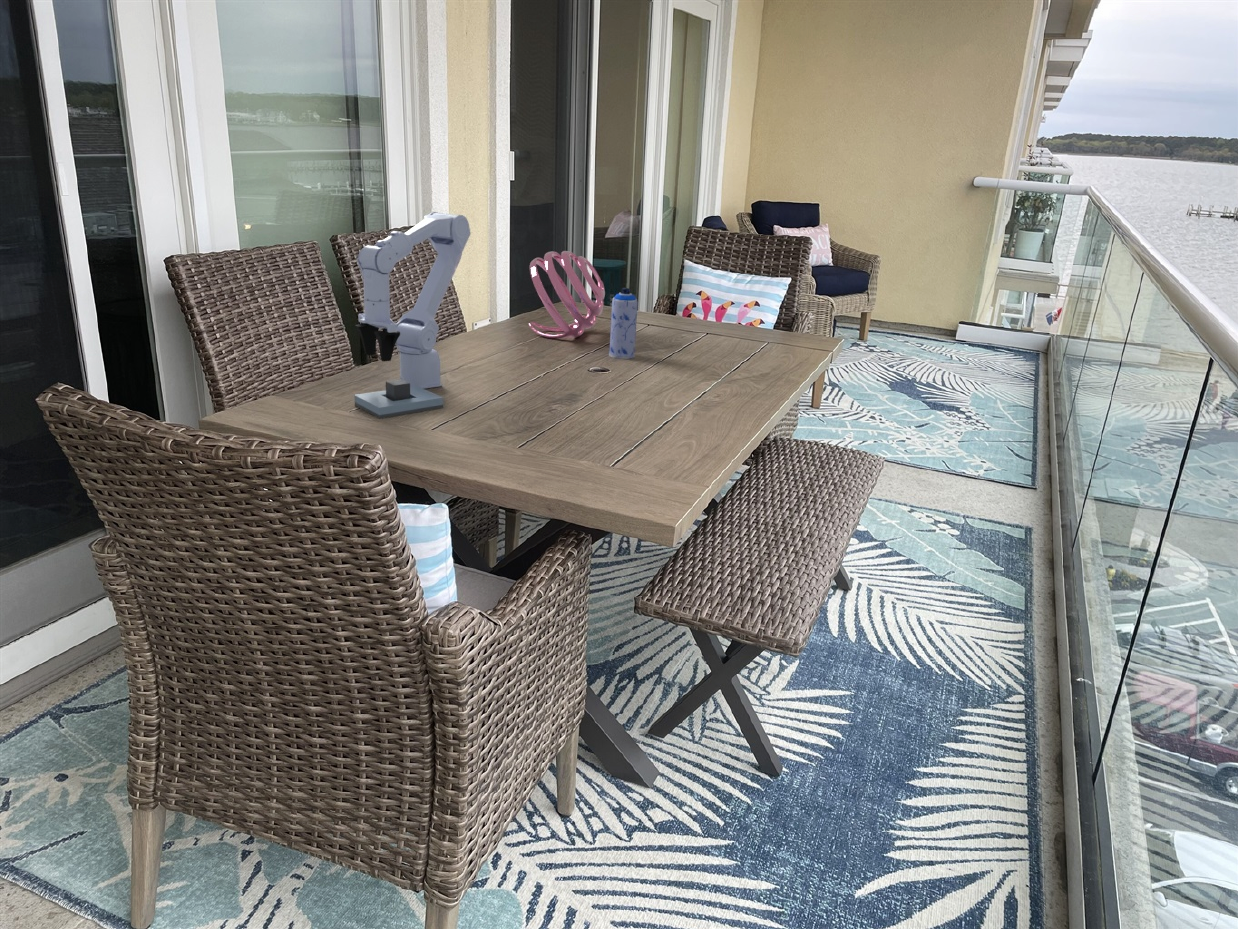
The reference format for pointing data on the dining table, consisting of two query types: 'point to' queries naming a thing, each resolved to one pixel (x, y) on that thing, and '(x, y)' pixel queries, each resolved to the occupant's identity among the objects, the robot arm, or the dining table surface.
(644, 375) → the dining table surface
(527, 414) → the dining table surface
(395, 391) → the plug
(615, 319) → the aerosol can
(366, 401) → the pale blue socket slab
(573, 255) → the spiral basket
